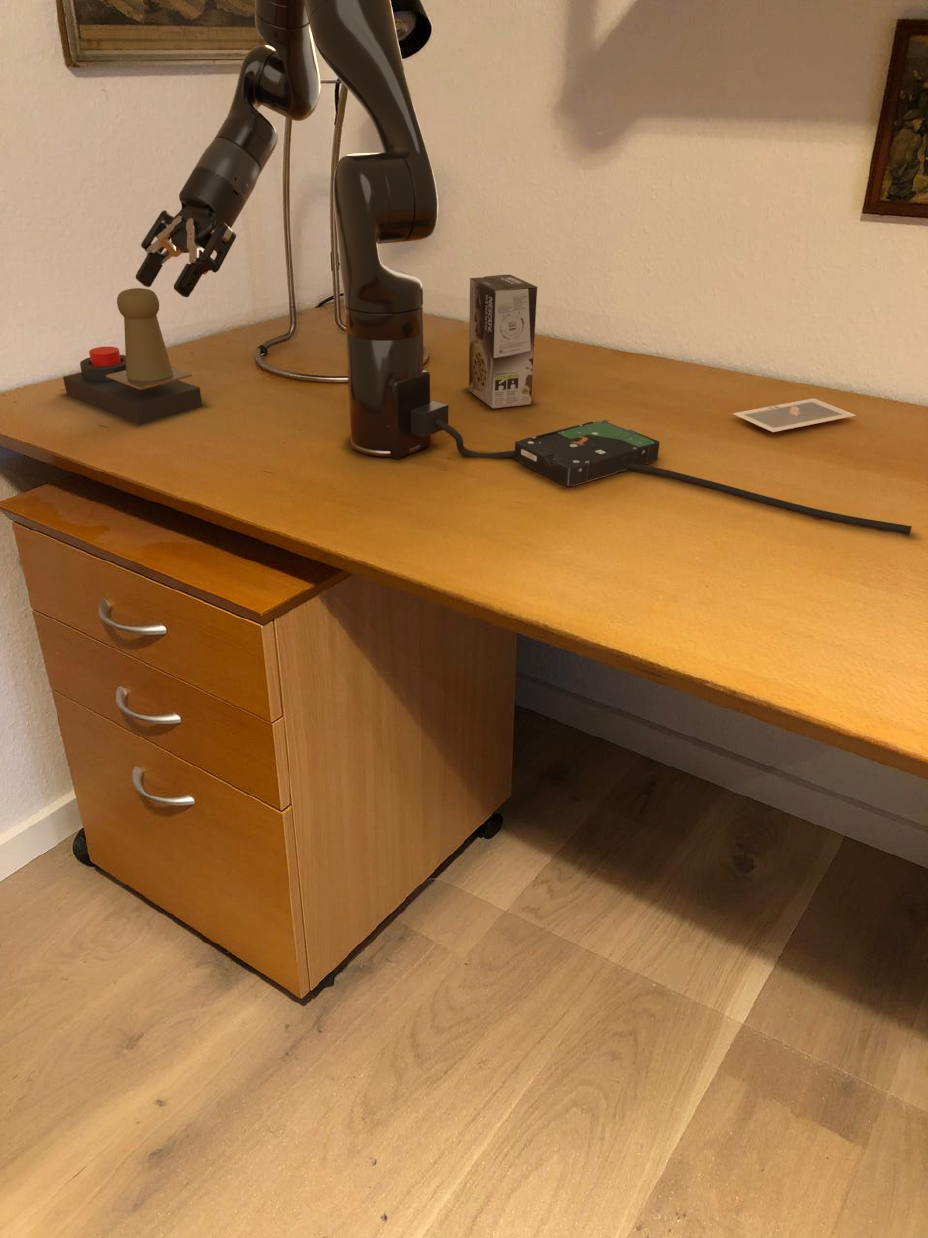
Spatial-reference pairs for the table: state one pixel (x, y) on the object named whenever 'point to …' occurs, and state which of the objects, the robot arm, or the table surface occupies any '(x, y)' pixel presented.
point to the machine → (130, 394)
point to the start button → (104, 356)
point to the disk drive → (585, 452)
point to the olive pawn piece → (143, 336)
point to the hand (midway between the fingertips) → (160, 288)
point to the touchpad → (793, 414)
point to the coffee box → (501, 340)
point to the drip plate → (147, 384)
